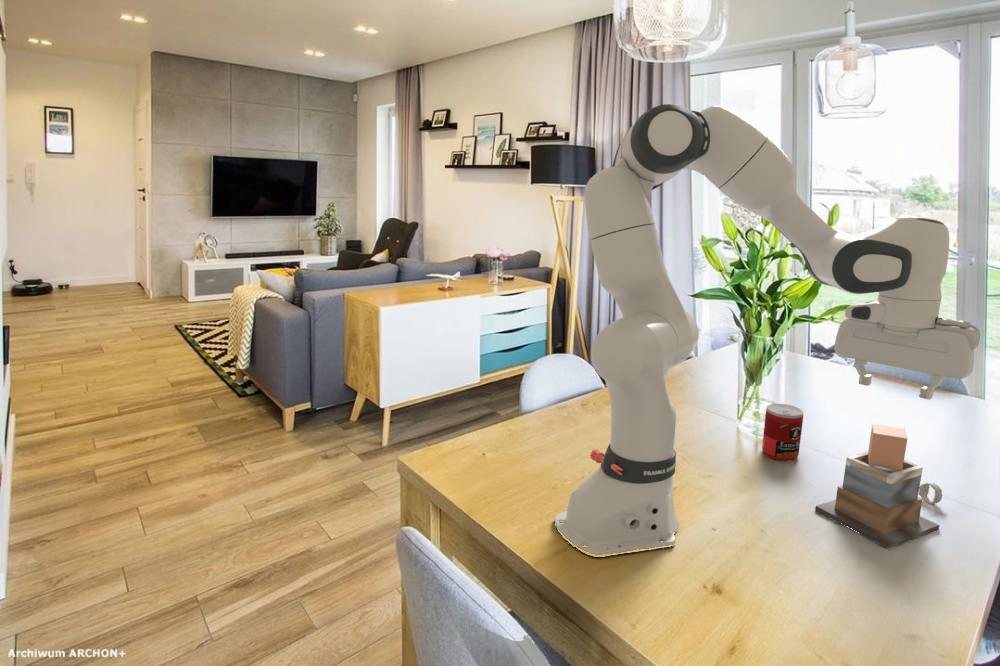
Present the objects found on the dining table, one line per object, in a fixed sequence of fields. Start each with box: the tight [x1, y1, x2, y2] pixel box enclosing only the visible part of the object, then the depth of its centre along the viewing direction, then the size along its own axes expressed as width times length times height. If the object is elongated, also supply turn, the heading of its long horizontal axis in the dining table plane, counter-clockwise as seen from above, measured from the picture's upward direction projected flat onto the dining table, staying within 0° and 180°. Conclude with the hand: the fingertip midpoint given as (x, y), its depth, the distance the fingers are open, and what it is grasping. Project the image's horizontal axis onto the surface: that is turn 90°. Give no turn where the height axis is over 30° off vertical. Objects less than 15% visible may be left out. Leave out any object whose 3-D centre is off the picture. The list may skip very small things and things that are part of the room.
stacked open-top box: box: [814, 451, 940, 550], centre depth 110 cm, size 14×14×12 cm
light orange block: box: [867, 423, 908, 471], centre depth 108 cm, size 5×5×6 cm
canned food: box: [761, 403, 804, 462], centre depth 138 cm, size 8×8×11 cm
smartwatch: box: [918, 482, 943, 505], centre depth 117 cm, size 4×2×4 cm, turn 14°
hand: (894, 391), depth 105 cm, fingers open, 8 cm apart
